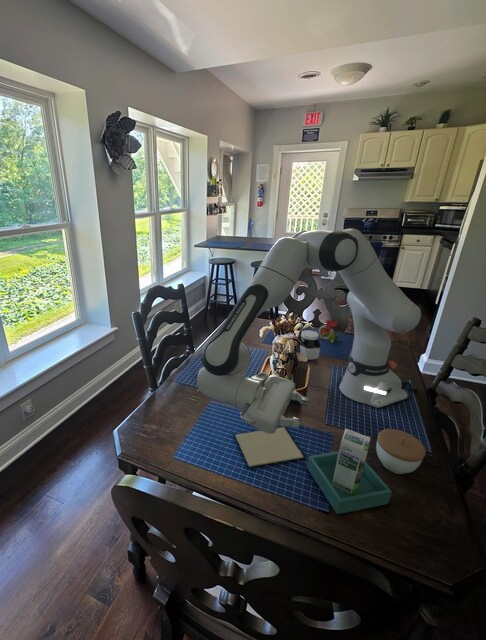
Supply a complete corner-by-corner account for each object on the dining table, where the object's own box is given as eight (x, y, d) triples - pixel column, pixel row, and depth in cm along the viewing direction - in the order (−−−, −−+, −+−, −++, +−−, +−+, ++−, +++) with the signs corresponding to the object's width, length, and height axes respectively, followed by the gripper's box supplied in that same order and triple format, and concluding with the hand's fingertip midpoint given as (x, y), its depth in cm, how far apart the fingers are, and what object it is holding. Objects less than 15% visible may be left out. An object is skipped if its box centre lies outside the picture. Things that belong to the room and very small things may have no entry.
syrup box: (330, 485, 81) (340, 441, 75) (336, 469, 85) (345, 426, 80) (355, 497, 78) (367, 452, 72) (359, 480, 82) (371, 436, 77)
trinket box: (399, 487, 81) (409, 459, 77) (363, 456, 90) (370, 430, 86) (427, 472, 85) (437, 445, 81) (389, 444, 94) (397, 419, 90)
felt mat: (283, 428, 101) (284, 427, 101) (303, 457, 90) (303, 456, 90) (235, 435, 98) (235, 434, 98) (249, 467, 87) (249, 465, 87)
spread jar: (320, 362, 137) (325, 338, 132) (296, 365, 135) (299, 340, 131) (306, 349, 148) (310, 326, 143) (283, 351, 146) (286, 328, 142)
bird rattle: (319, 345, 156) (339, 343, 149) (313, 324, 154) (332, 321, 148) (323, 340, 160) (342, 338, 154) (317, 319, 159) (336, 316, 153)
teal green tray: (351, 459, 89) (354, 448, 88) (388, 503, 77) (392, 491, 75) (306, 467, 87) (308, 456, 85) (337, 514, 75) (340, 502, 73)
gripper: (237, 407, 78) (295, 427, 71) (264, 368, 94) (314, 382, 87) (236, 428, 80) (292, 449, 74) (263, 386, 96) (310, 401, 90)
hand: (304, 412), depth 81 cm, fingers open, 8 cm apart
